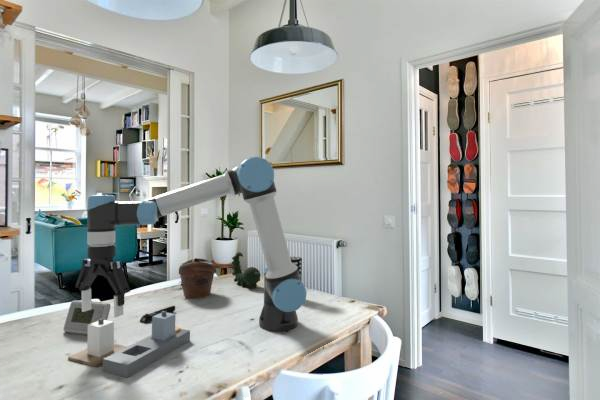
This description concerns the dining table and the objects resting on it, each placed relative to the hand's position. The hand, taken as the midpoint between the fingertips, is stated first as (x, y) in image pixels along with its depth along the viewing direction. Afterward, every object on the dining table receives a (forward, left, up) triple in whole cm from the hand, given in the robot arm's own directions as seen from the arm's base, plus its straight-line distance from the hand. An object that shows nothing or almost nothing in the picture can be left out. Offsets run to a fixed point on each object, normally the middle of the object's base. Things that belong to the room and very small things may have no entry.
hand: (102, 313), depth 106 cm
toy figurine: (0, -90, -13) cm, 91 cm away
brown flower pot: (+14, -65, -13) cm, 68 cm away
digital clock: (+20, -10, -13) cm, 26 cm away
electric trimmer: (+8, -32, -13) cm, 36 cm away
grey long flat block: (-14, -6, -13) cm, 20 cm away
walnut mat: (0, 0, -13) cm, 13 cm away
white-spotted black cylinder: (-33, -77, -13) cm, 85 cm away
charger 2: (-14, -11, -11) cm, 21 cm away
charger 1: (0, 0, -12) cm, 12 cm away
